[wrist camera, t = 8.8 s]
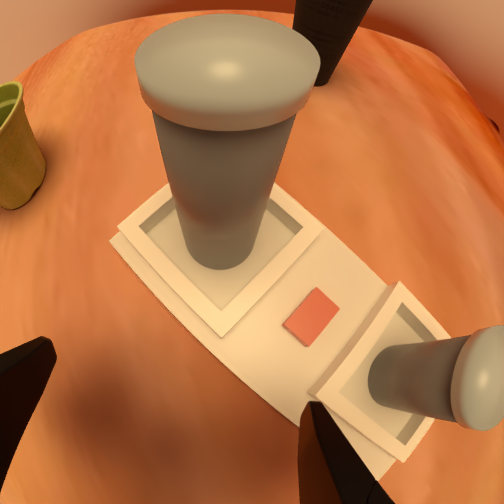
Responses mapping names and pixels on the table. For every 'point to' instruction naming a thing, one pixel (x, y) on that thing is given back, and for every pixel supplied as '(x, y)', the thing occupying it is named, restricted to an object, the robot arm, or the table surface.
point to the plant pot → (17, 150)
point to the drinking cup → (328, 29)
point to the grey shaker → (224, 121)
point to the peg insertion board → (321, 329)
